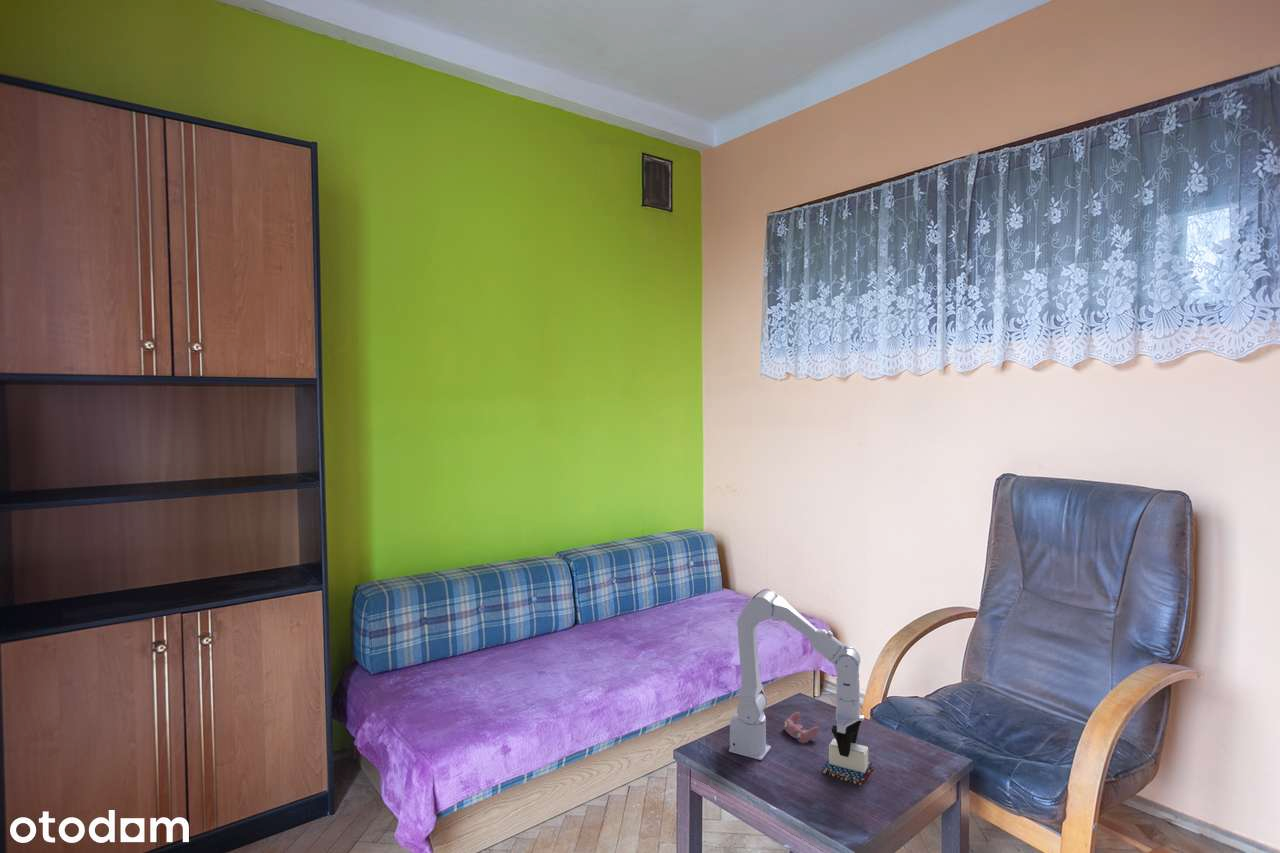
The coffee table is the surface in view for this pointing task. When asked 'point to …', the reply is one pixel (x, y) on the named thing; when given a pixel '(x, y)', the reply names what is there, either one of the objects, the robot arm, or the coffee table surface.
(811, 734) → the pink curved figurine
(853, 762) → the painted block
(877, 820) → the coffee table surface
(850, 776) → the woven mat
